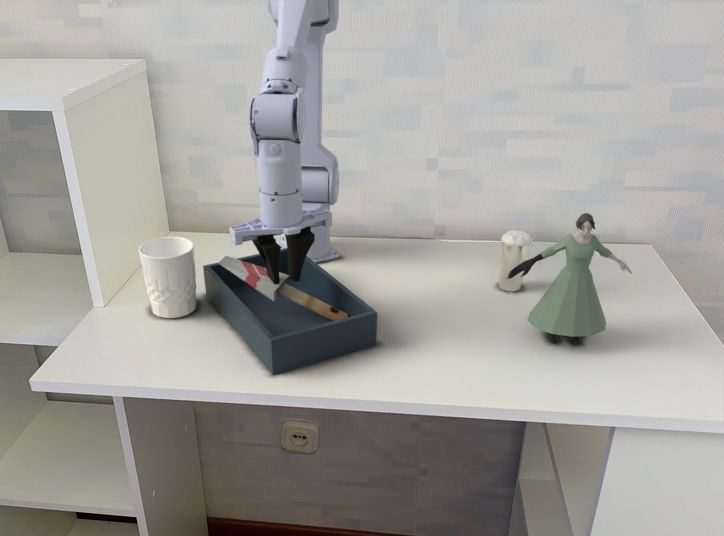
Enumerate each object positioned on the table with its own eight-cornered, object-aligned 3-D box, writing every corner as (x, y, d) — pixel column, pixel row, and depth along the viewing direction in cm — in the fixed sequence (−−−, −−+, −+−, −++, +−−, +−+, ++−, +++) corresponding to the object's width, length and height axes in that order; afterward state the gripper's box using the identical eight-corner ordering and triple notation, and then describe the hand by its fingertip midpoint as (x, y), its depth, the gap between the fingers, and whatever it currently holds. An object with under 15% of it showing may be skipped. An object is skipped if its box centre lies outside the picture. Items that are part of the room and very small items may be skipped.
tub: (205, 295, 111) (202, 265, 108) (295, 274, 116) (294, 245, 114) (272, 374, 91) (271, 340, 88) (376, 345, 97) (377, 312, 94)
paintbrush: (230, 245, 103) (352, 307, 101) (225, 261, 104) (346, 322, 102) (218, 255, 100) (344, 318, 98) (213, 271, 101) (338, 334, 99)
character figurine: (500, 351, 95) (519, 224, 85) (494, 321, 102) (510, 201, 92) (624, 356, 93) (656, 228, 84) (608, 326, 100) (637, 204, 91)
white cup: (137, 309, 107) (127, 248, 102) (178, 291, 112) (171, 232, 107) (169, 326, 102) (160, 262, 97) (211, 306, 107) (204, 245, 102)
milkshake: (518, 298, 108) (527, 236, 103) (489, 286, 111) (496, 227, 106) (535, 289, 110) (545, 228, 105) (506, 278, 114) (514, 219, 109)
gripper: (240, 207, 88) (247, 303, 95) (343, 188, 93) (342, 281, 100) (220, 190, 93) (228, 283, 100) (318, 173, 99) (319, 262, 106)
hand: (284, 281), depth 101 cm, fingers closed on paintbrush, 3 cm apart
